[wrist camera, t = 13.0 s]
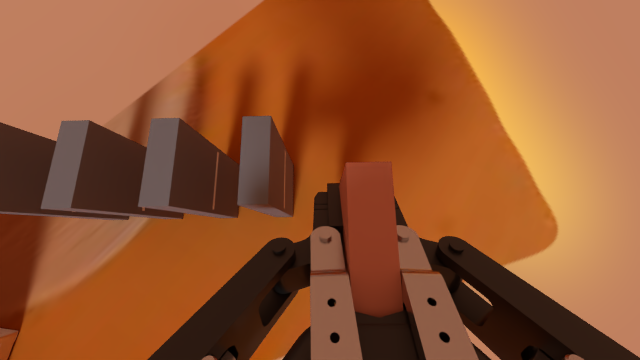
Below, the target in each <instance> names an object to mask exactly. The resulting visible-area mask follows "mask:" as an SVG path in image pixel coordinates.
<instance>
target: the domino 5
mask: <svg viewBox="0 0 640 360" xmlns="http://www.w3.org/2000/svg"><path fill="white" fill-rule="evenodd" d="M339 191H340V200H341V210H342V219H343V246H342V250H343V257H344V263H345V269H346V270H347V271H348V275H349V281H350V287H351V293H352V299H353V305H354V311H355V312H359V313H363V314H367V315H371V316H374V317H383V316H387V315H390V314H394V313H397V312H400V311H403V302H402V287H401V275H400V262H399V250H398V238H397V226H396V213H395V201H394V189H393V177H392V164H391V162H346V164H345V168H344V171H343V174H342V178H341V181H340V184H339Z"/></svg>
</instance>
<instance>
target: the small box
mask: <svg viewBox="0 0 640 360" xmlns="http://www.w3.org/2000/svg"><path fill="white" fill-rule="evenodd" d="M18 332H19V331H18V330H10V329H4V328H0V360H7V359H8V357H9V354H10V351H11V349H12V346H13V343H14V341H15V340H16V338H17V335H18Z"/></svg>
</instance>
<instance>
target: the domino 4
mask: <svg viewBox="0 0 640 360" xmlns="http://www.w3.org/2000/svg"><path fill="white" fill-rule="evenodd" d="M293 167H294V165H293V163H292V161H291V159H290V157H289V154H288V152H287V150H286V148H285V146H284V143H283V141H282V139H281V137H280V135H279V133H278V130H277V128H276V126H275V124H274V122H273V119H272V117H271V116H245V117H243V120H242V136H241V153H240V169H239V185H238V202H237V205H240V206H243V207H246V208H249V209H252V210H255V211H259V212H262V213H265V214H268V215H271V216H274V217H293Z"/></svg>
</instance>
